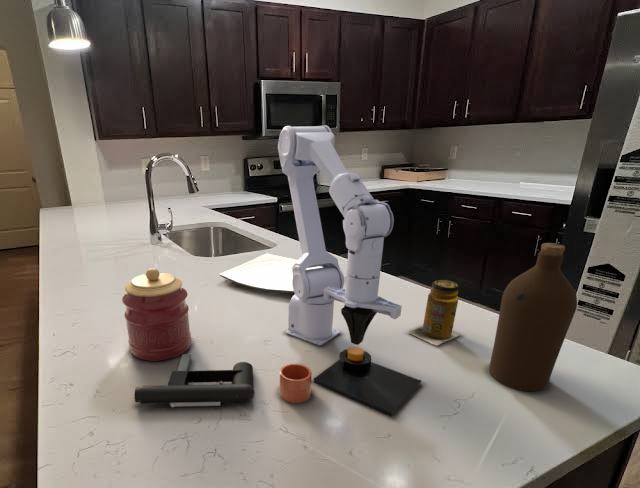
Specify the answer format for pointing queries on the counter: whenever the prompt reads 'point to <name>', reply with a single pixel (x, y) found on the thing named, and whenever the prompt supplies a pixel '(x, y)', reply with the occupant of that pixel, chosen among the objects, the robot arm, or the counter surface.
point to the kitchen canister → (156, 316)
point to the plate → (265, 273)
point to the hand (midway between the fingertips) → (356, 342)
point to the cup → (295, 383)
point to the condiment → (439, 313)
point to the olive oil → (533, 323)
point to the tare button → (355, 354)
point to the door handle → (200, 386)
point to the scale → (368, 383)
